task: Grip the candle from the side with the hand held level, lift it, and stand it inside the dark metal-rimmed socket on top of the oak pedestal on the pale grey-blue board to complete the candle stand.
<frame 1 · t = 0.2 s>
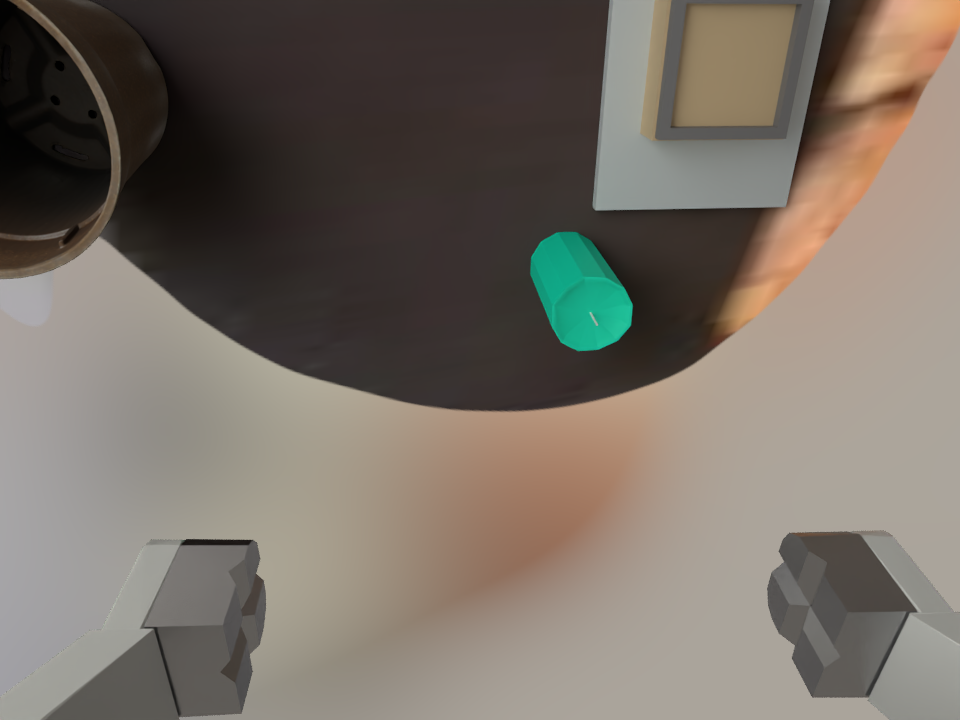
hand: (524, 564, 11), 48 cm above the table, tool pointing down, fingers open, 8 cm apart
candle: (564, 264, 60), on the table
plant pot: (83, 91, 51), on the table
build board: (708, 61, 53), on the table
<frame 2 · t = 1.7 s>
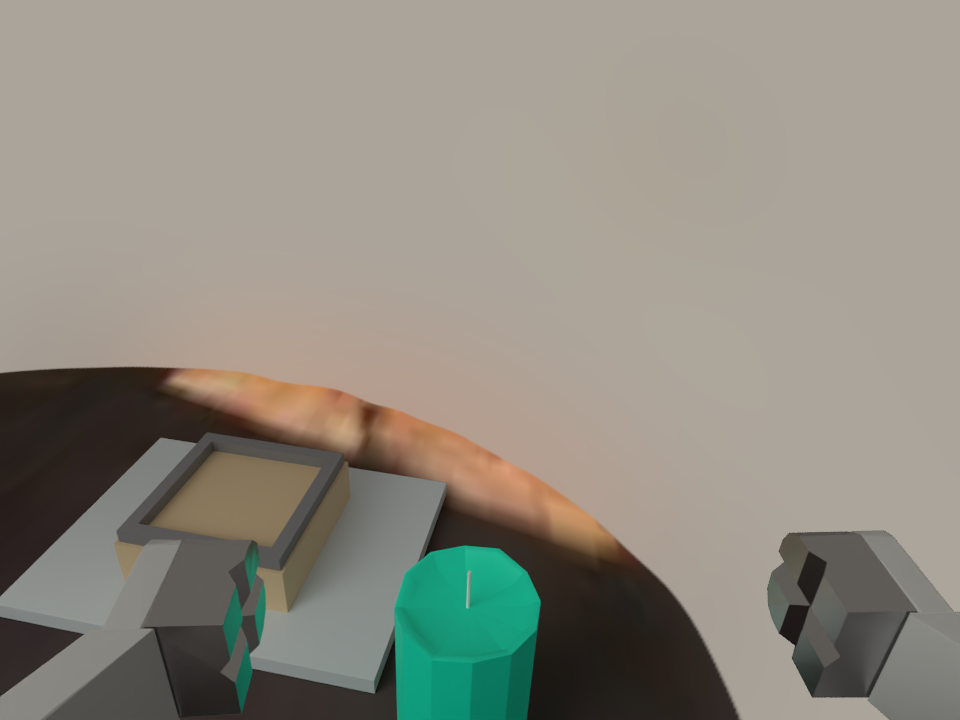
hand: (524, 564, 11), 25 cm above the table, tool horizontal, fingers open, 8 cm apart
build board: (248, 547, 45), on the table
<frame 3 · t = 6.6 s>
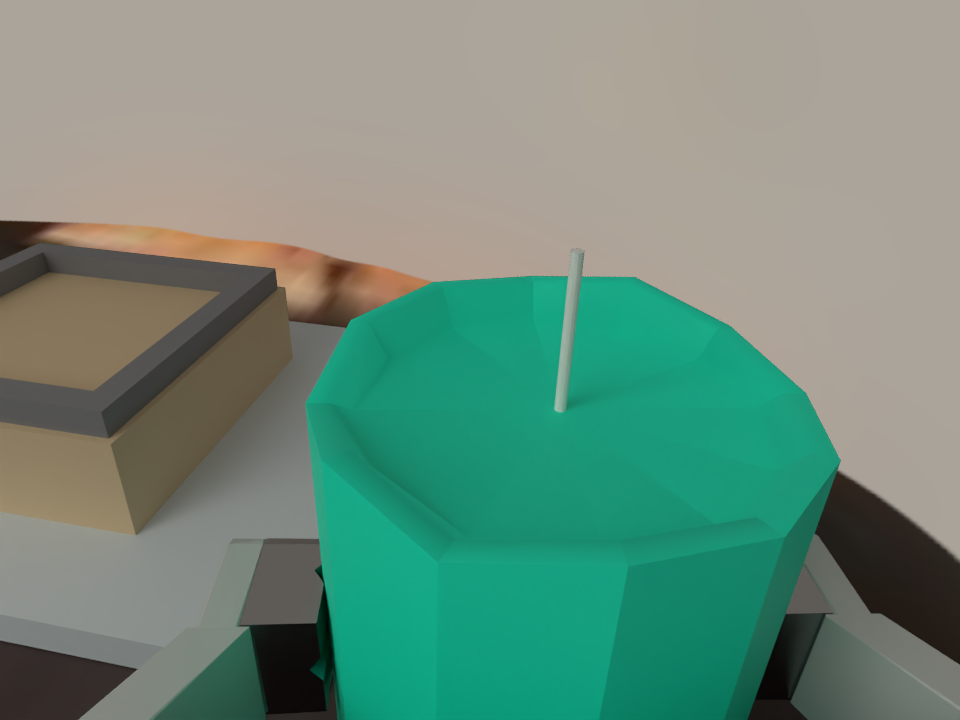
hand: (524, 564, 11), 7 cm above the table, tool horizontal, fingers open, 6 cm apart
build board: (99, 434, 24), on the table
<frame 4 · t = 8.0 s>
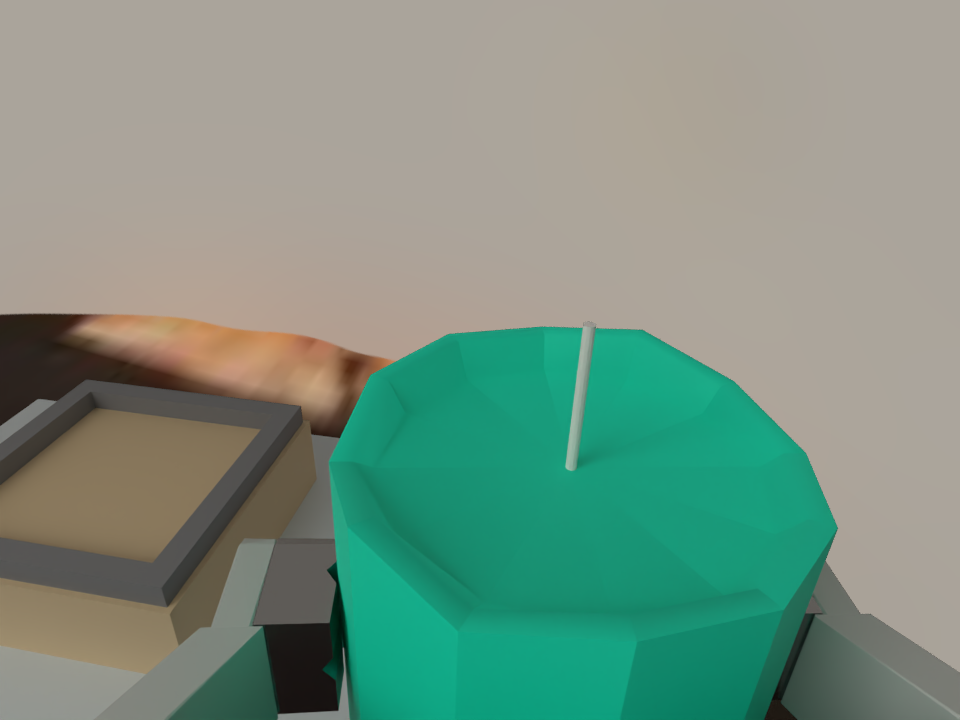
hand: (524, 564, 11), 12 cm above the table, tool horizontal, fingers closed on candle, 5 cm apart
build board: (146, 562, 27), on the table
when the fingers open (12 cm above the table, at t = 11.3 s): candle stays where it is, resting on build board.
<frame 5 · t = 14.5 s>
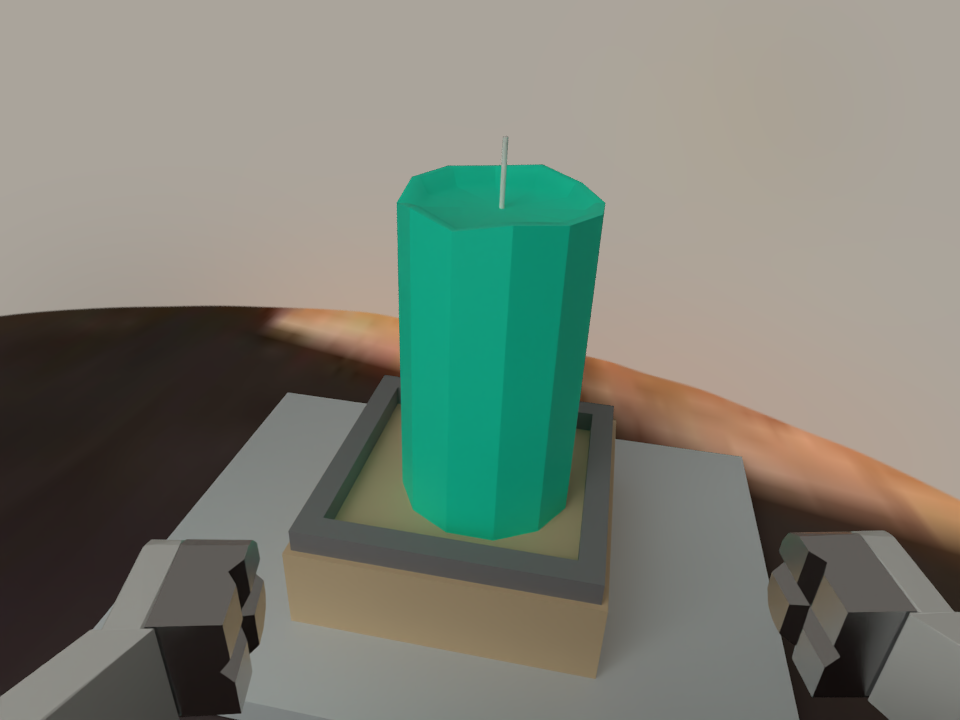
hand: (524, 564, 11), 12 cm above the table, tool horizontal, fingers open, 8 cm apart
candle: (486, 484, 25), point 4 cm above the table, touching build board
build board: (469, 558, 27), on the table
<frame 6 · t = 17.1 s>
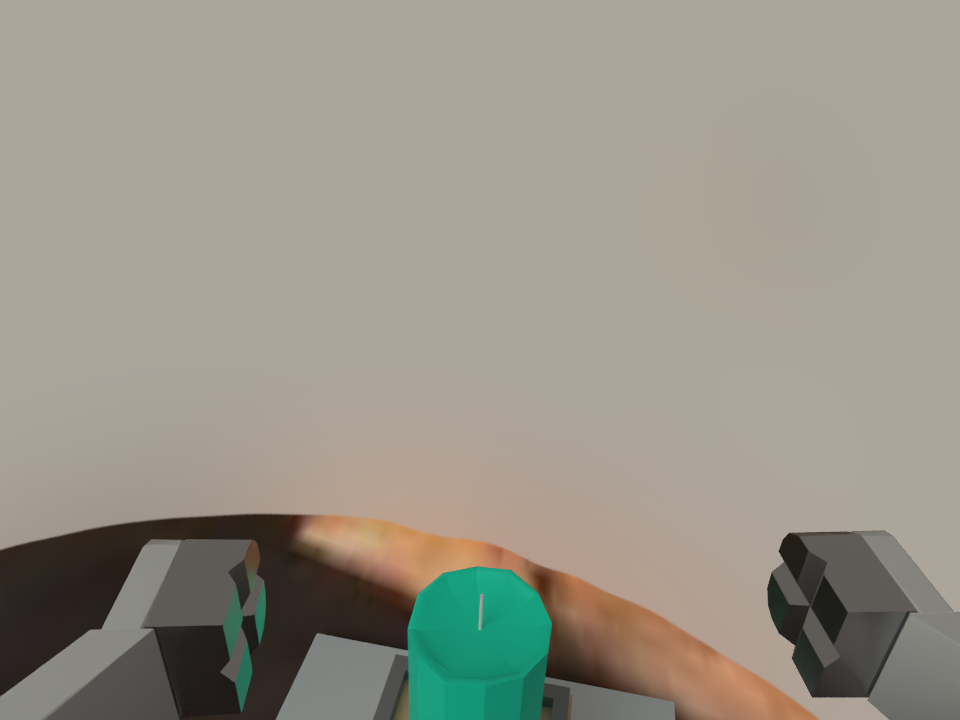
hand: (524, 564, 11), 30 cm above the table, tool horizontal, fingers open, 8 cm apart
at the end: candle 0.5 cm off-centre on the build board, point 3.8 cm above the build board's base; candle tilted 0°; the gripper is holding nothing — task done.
